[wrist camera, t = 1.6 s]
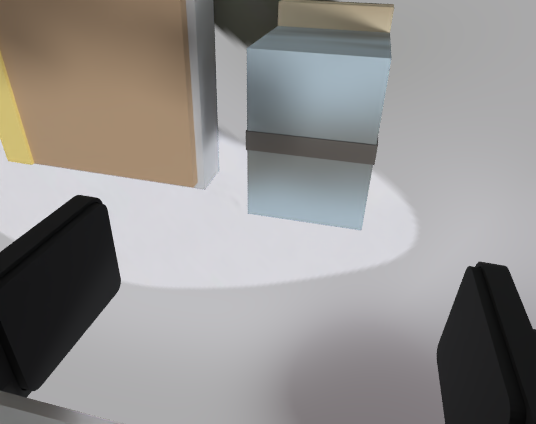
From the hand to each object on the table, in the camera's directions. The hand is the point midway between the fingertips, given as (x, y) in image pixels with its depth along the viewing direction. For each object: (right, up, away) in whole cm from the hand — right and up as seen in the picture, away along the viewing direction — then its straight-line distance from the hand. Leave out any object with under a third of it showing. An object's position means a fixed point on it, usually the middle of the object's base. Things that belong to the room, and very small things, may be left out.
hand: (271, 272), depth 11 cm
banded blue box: (+3, +7, +11) cm, 13 cm away
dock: (-9, +10, +12) cm, 18 cm away
